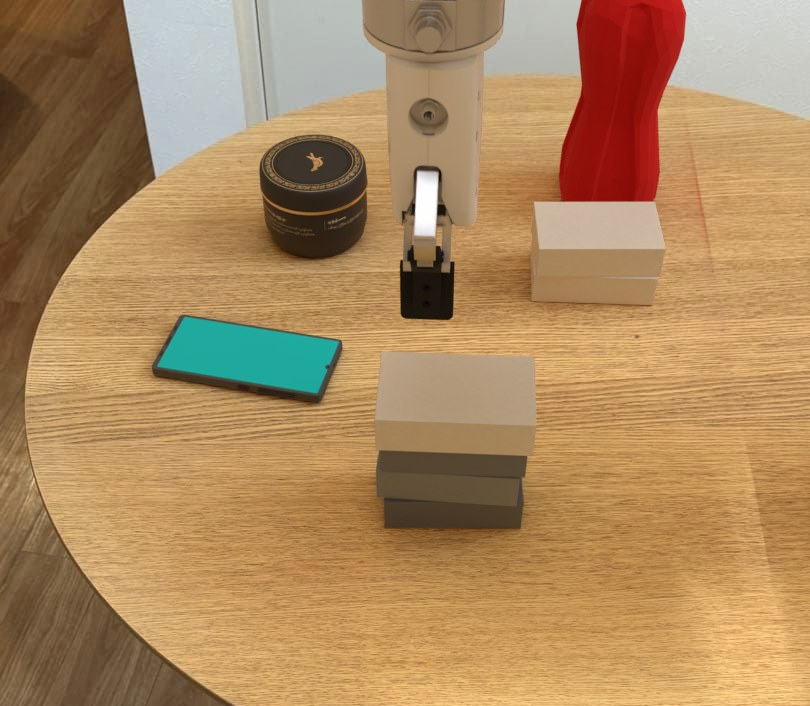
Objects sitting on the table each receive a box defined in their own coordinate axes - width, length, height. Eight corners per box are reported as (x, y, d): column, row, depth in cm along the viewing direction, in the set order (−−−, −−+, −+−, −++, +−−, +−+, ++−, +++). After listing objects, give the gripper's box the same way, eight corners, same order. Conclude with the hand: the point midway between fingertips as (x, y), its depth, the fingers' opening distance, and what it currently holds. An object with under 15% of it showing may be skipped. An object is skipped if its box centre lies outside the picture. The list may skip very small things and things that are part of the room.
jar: (333, 190, 116) (329, 120, 110) (389, 239, 111) (388, 169, 105) (247, 223, 113) (238, 153, 107) (299, 276, 107) (293, 206, 101)
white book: (531, 387, 85) (534, 356, 82) (532, 456, 80) (536, 425, 78) (382, 381, 85) (381, 351, 83) (375, 450, 81) (374, 419, 78)
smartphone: (180, 313, 103) (343, 339, 100) (182, 321, 103) (343, 347, 101) (149, 368, 98) (319, 397, 96) (151, 376, 99) (319, 404, 96)
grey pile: (520, 474, 91) (529, 391, 84) (520, 534, 88) (530, 451, 81) (382, 469, 92) (380, 385, 85) (377, 528, 88) (374, 445, 81)
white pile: (648, 256, 109) (659, 201, 105) (655, 307, 104) (666, 252, 100) (528, 252, 110) (533, 197, 105) (529, 303, 105) (534, 248, 100)
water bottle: (643, 161, 119) (689, -95, 100) (656, 225, 112) (708, -38, 93) (554, 160, 119) (582, -96, 100) (561, 224, 112) (593, -39, 93)
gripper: (503, 88, 55) (487, 360, 68) (505, -71, 66) (491, 190, 79) (346, 85, 55) (360, 355, 69) (374, -73, 66) (381, 187, 79)
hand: (430, 267), depth 74 cm, fingers open, 9 cm apart
